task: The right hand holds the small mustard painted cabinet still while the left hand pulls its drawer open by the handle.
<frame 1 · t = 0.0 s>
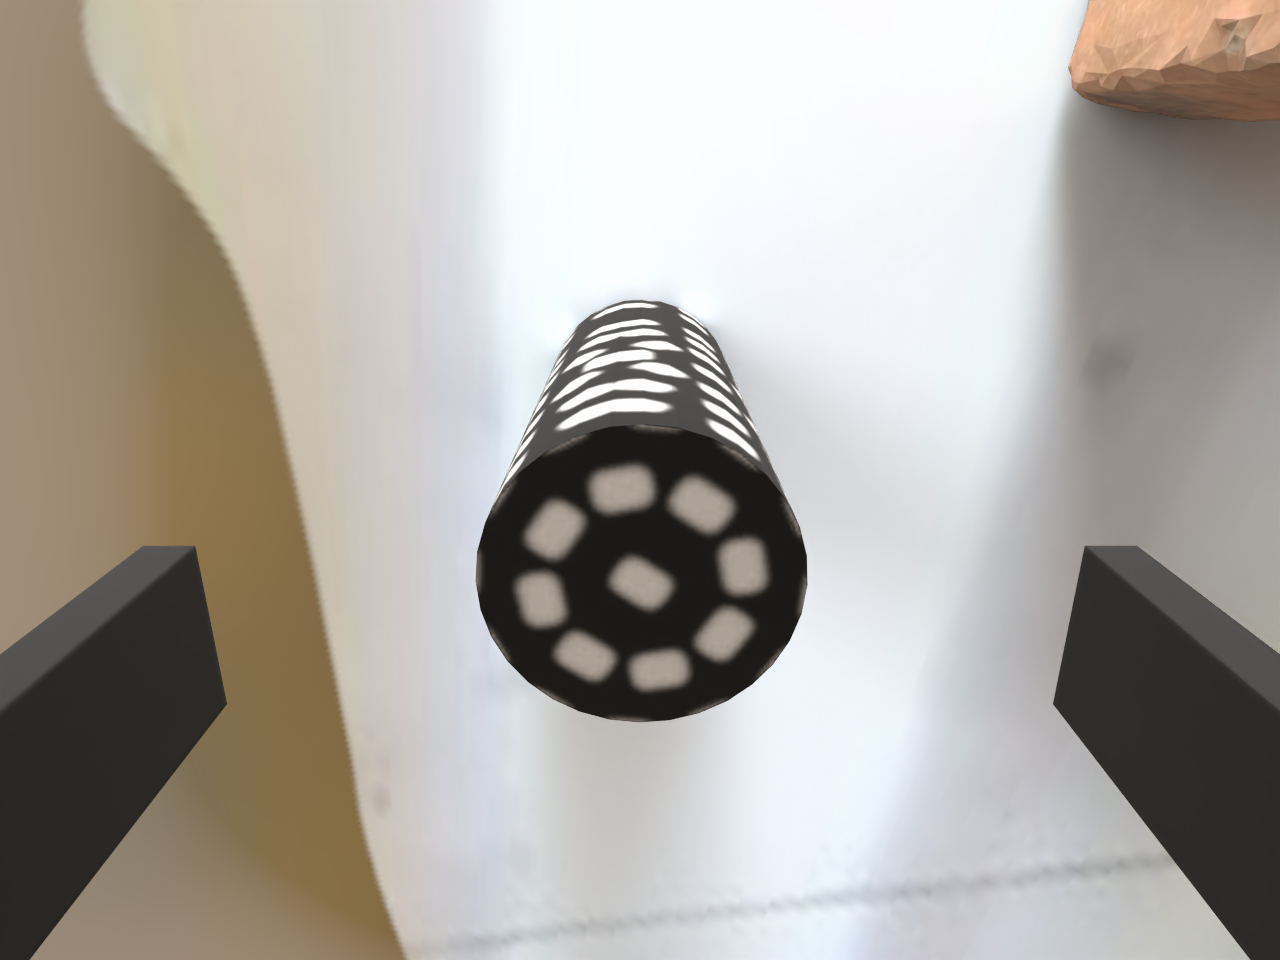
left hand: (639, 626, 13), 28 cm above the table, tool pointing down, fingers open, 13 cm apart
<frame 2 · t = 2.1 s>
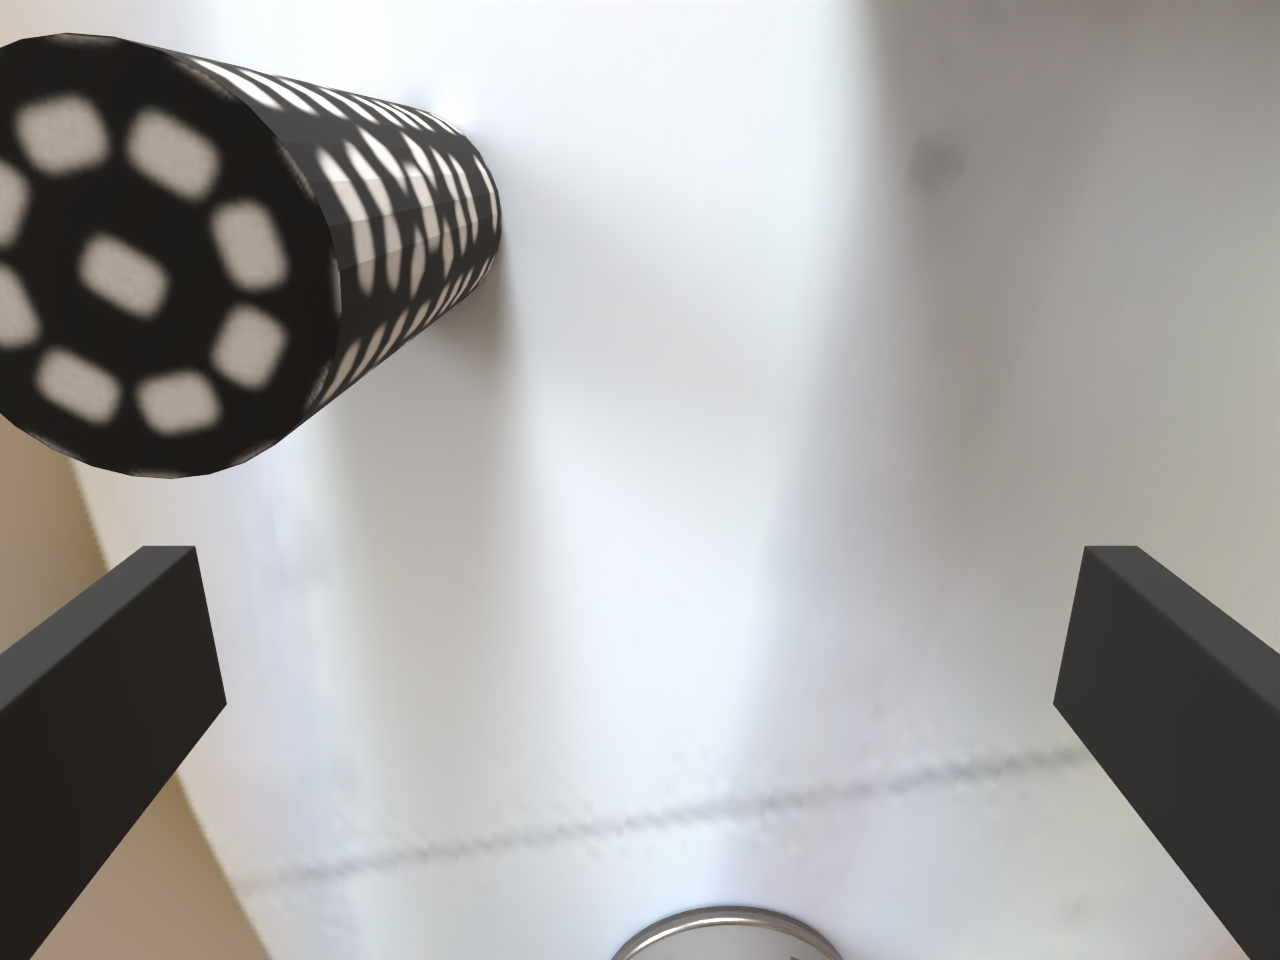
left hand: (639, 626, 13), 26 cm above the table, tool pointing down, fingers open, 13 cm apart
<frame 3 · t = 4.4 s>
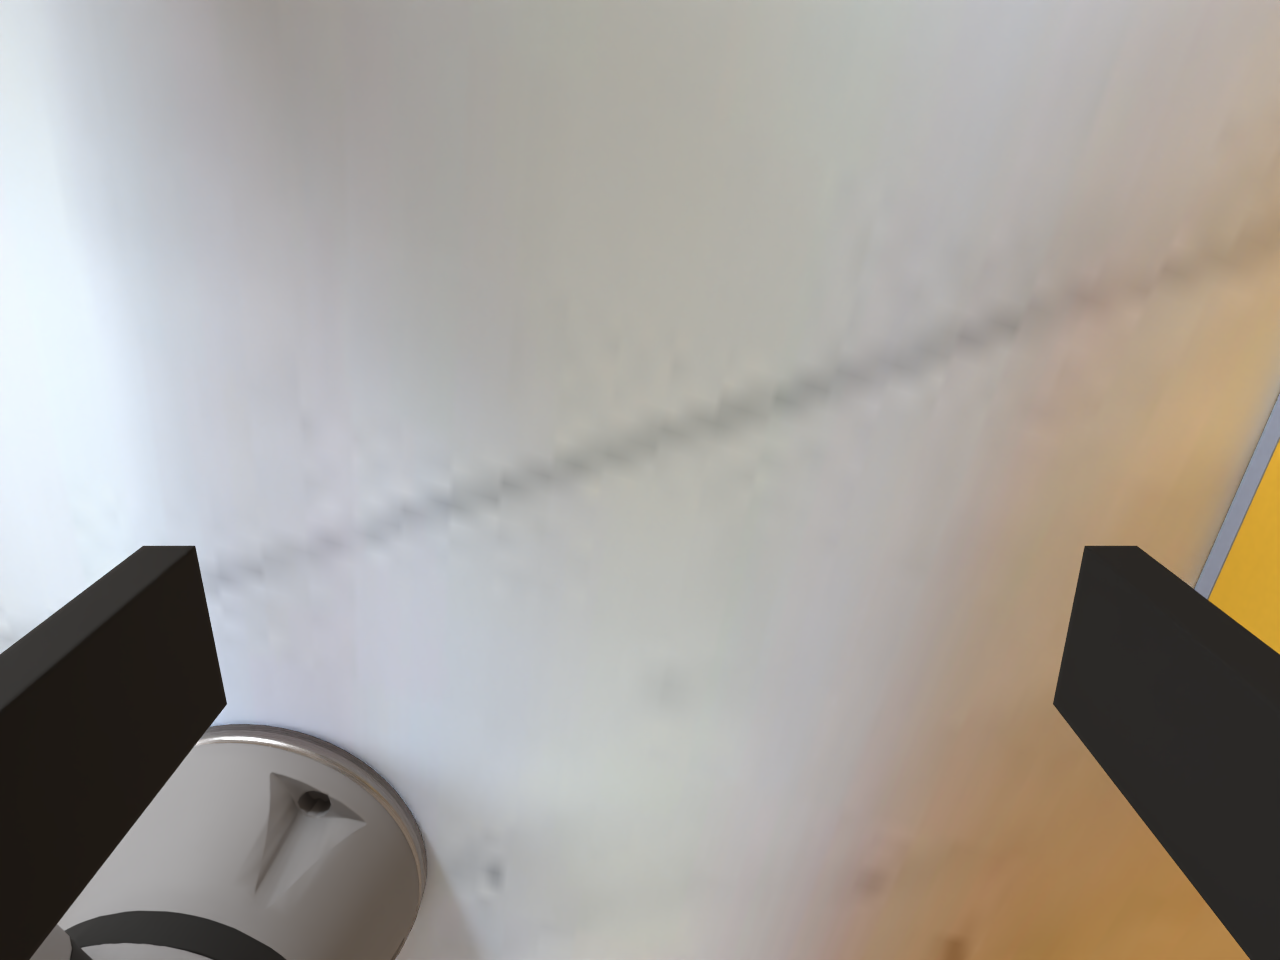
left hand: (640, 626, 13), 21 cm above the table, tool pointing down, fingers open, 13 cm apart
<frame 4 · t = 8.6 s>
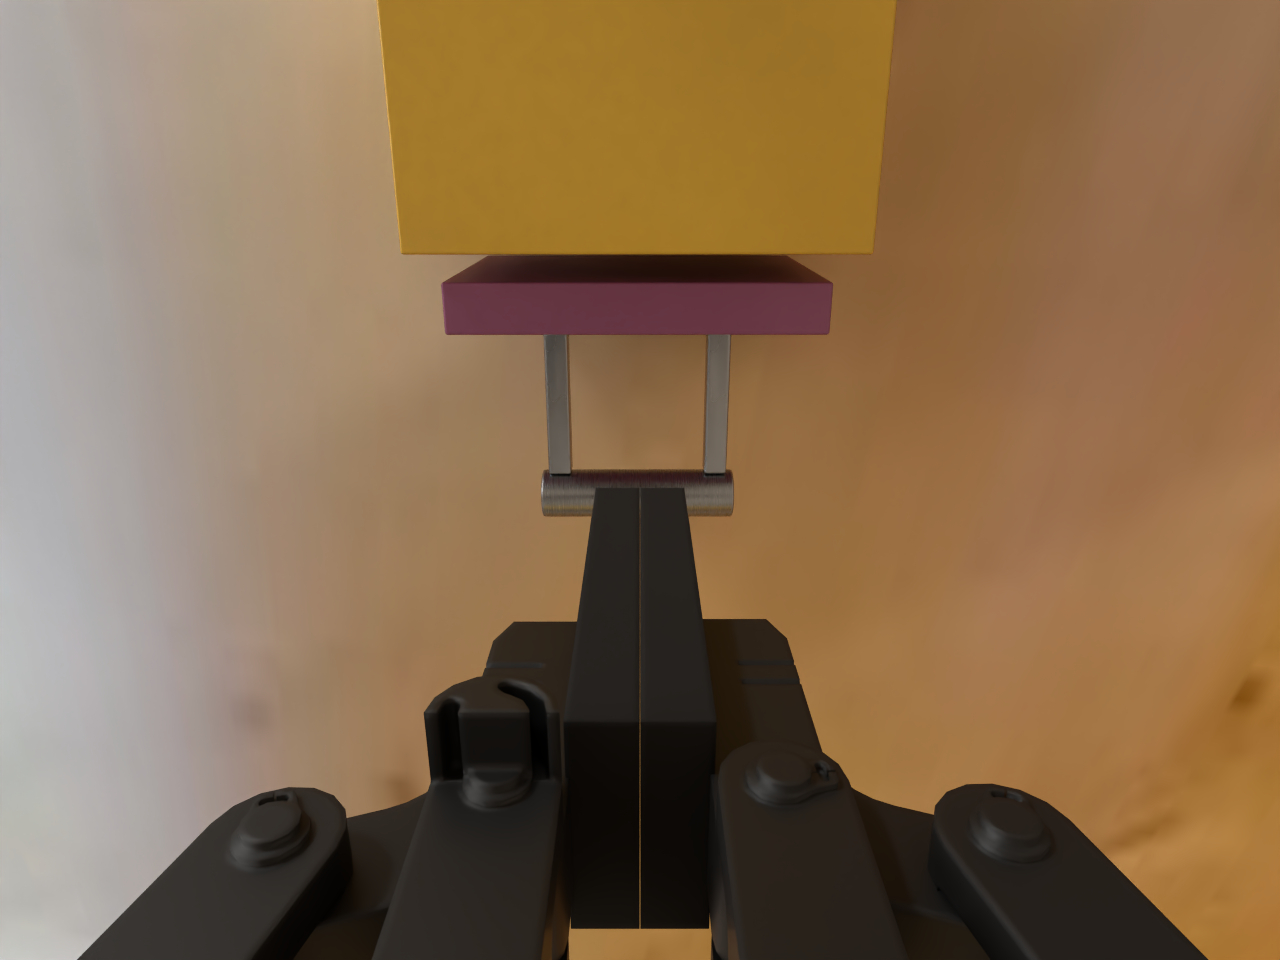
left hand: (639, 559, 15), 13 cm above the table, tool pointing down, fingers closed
drawer: (637, 52, 20), point 4 cm above the table, slide at 0.7 cm
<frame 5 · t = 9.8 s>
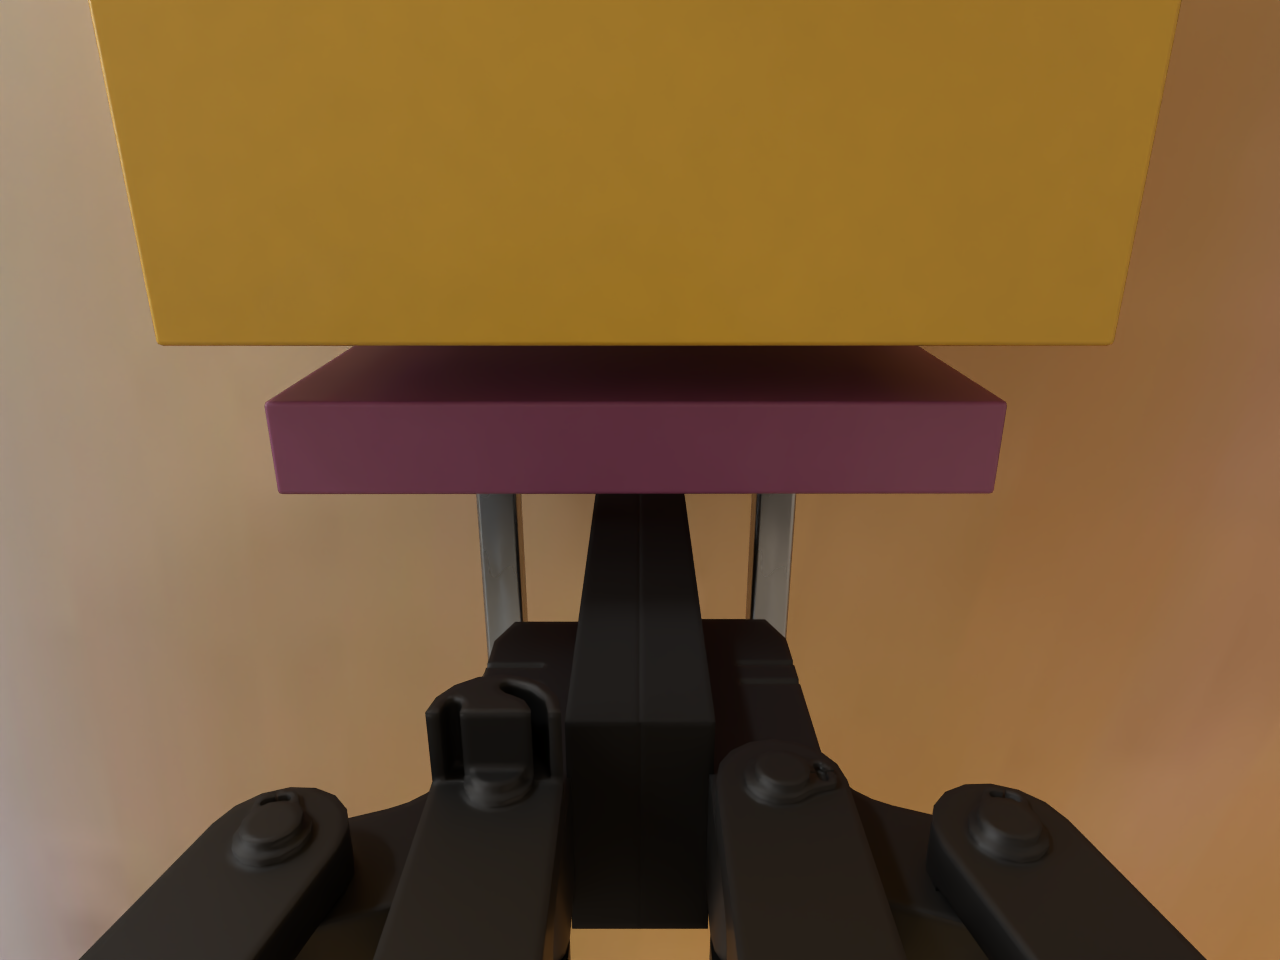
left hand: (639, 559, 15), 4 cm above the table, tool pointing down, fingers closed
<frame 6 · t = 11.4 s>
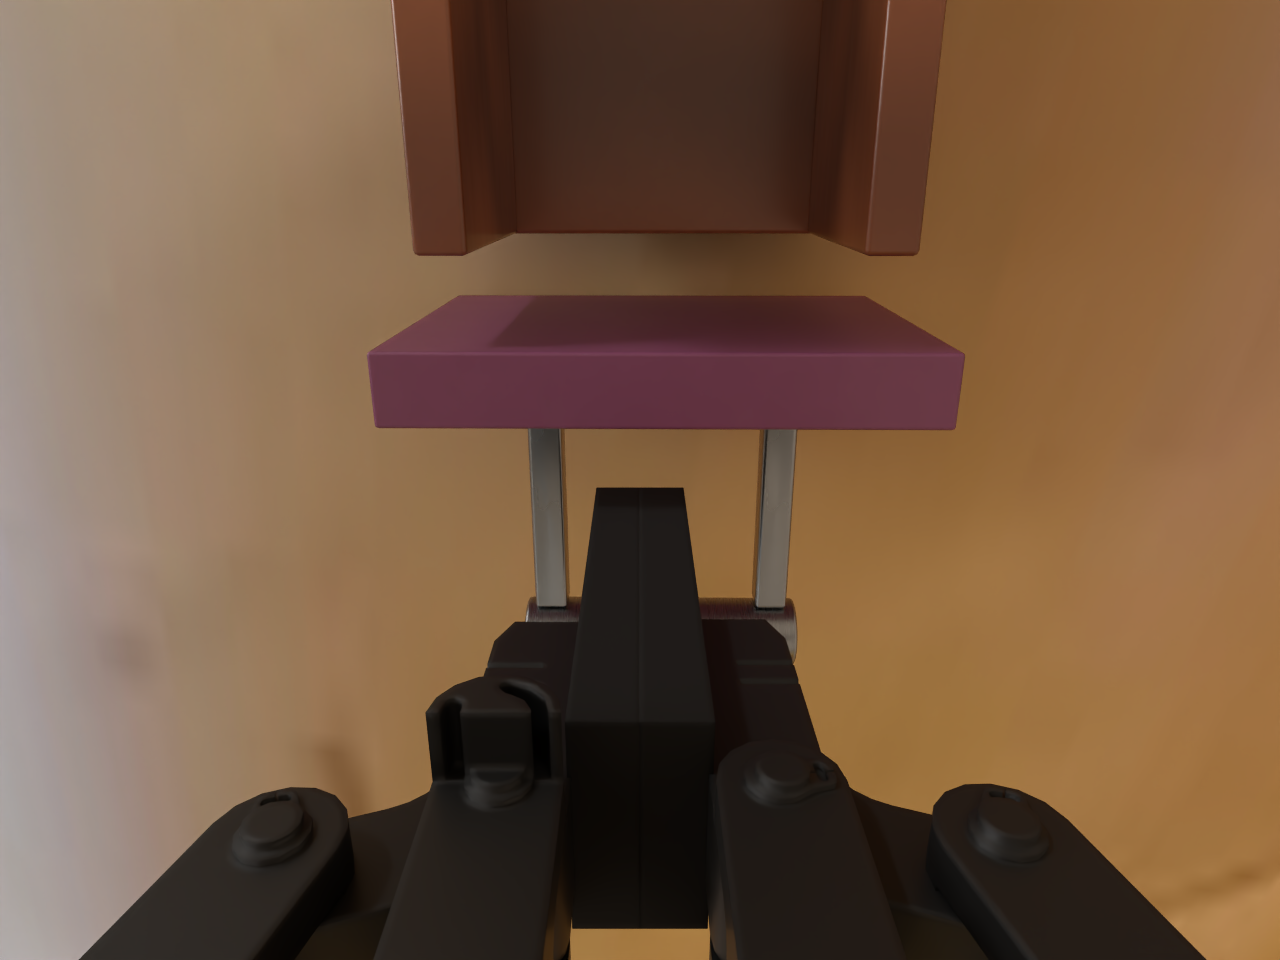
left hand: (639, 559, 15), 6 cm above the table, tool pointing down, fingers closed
drawer: (665, 6, 14), point 4 cm above the table, slide at 7.7 cm
when the right hand's fingers open (3 cm above the table, at t = 12.8 s): cabinet stays where it is, on the table.
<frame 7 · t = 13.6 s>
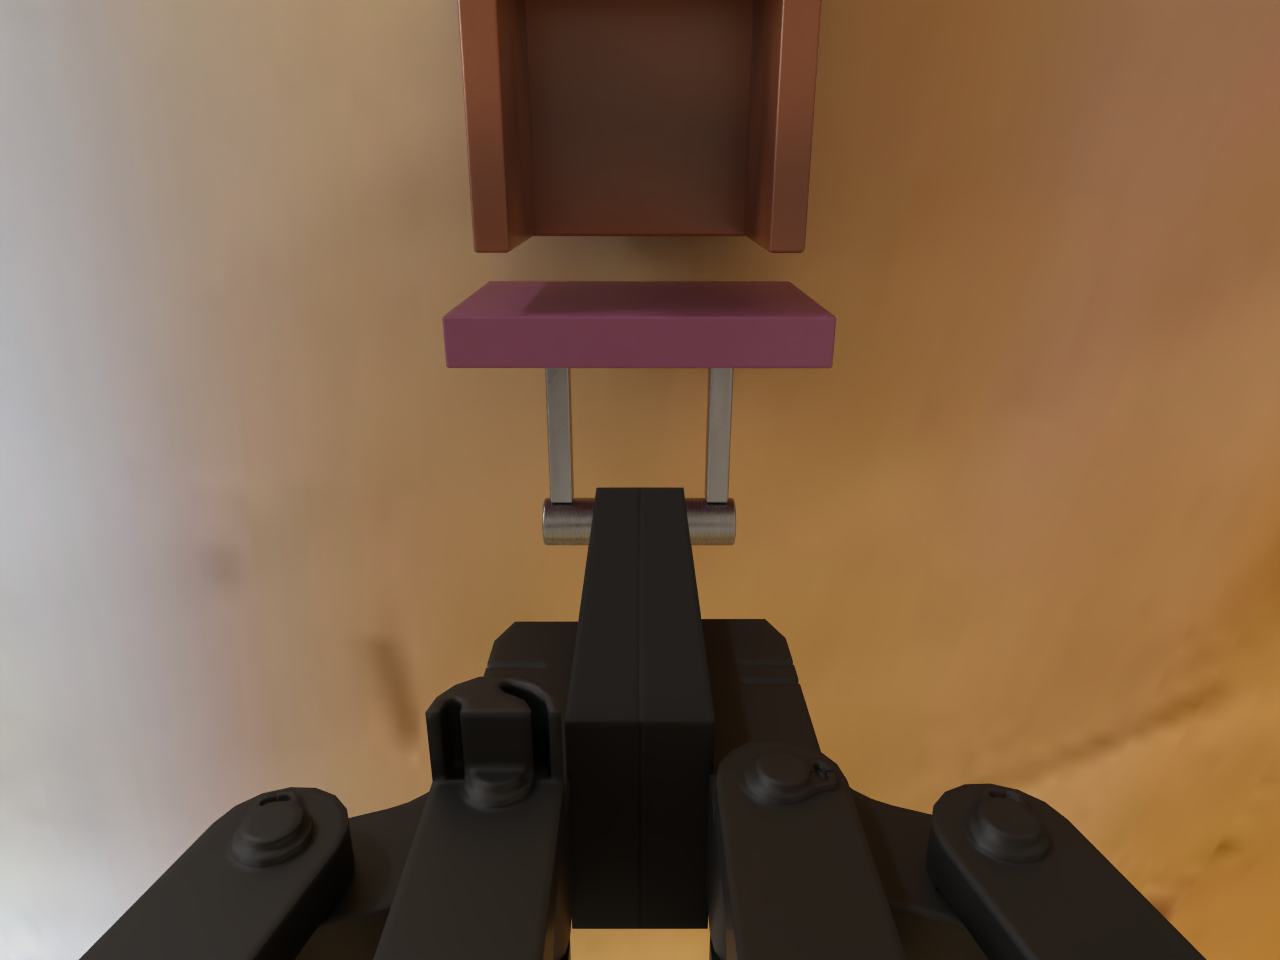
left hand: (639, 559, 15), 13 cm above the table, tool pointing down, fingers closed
drawer: (639, 83, 20), point 4 cm above the table, slide at 7.7 cm
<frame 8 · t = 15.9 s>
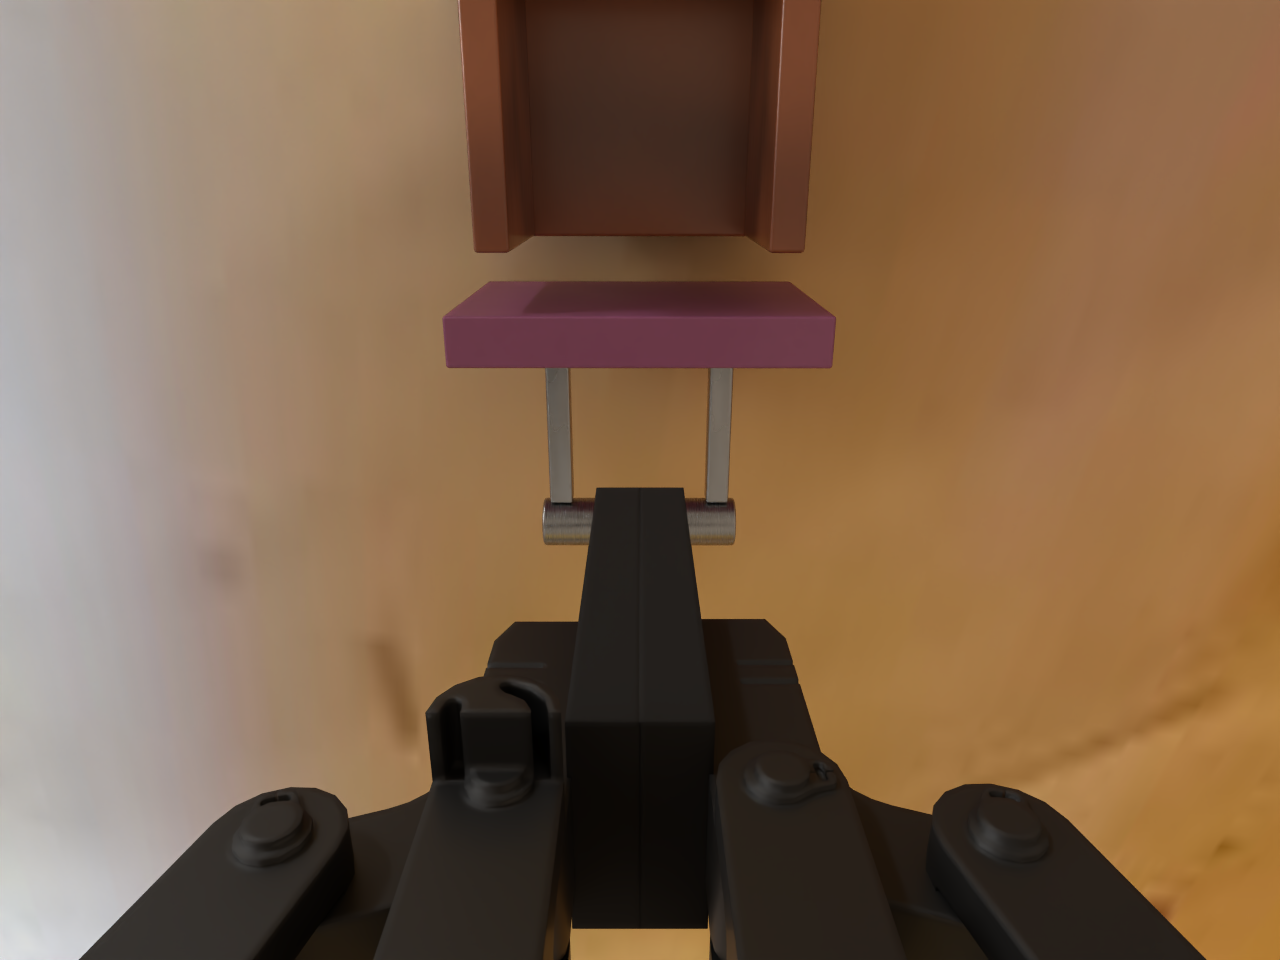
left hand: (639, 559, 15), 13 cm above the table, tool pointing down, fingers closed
drawer: (639, 83, 20), point 4 cm above the table, slide at 7.7 cm
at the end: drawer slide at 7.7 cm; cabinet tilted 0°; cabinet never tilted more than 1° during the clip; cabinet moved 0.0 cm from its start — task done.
